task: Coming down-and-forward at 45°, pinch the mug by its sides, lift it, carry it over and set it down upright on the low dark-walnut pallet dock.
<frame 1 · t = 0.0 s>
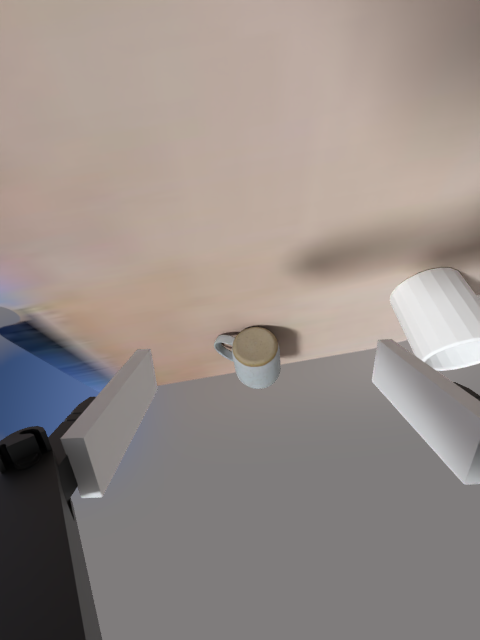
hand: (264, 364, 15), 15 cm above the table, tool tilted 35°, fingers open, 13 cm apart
mug: (439, 282, 32), on the table
ceramic mug: (247, 337, 43), on the table
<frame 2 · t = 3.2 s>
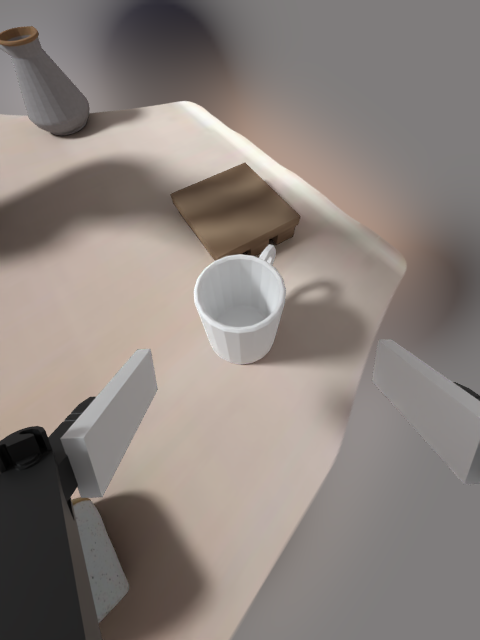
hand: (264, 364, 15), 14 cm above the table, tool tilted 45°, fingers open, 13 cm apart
coffee pot: (50, 121, 53), on the table
mug: (248, 320, 32), on the table
dock: (234, 223, 39), on the table
ceramic mug: (74, 572, 22), on the table
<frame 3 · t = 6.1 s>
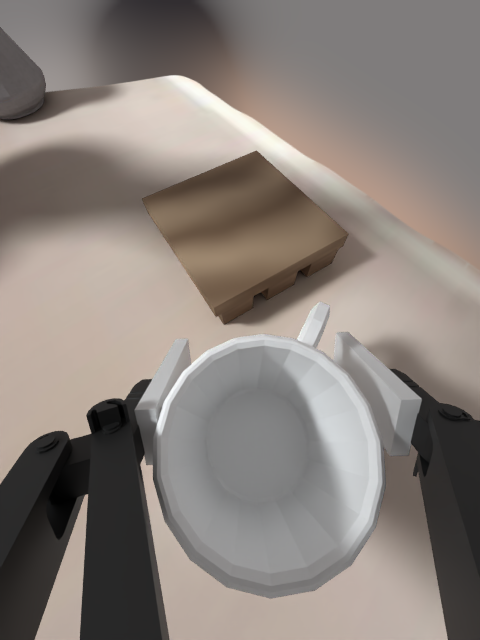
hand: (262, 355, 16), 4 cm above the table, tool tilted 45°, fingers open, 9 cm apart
mug: (268, 414, 18), on the table, touching gripper
dock: (240, 243, 25), on the table
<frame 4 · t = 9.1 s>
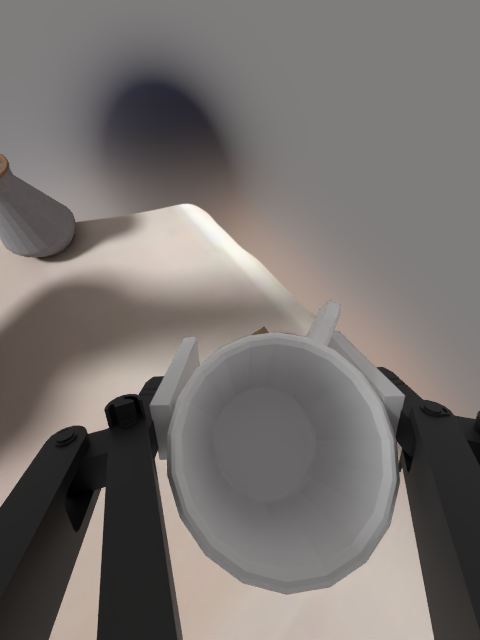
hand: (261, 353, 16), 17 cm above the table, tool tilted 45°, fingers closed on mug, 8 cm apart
coffee pot: (31, 233, 46), on the table
mug: (275, 413, 19), point 13 cm above the table, touching gripper
when the fingers open (9 cm above the table, at t = 11.7 s): mug drops 1 cm, resting on dock.
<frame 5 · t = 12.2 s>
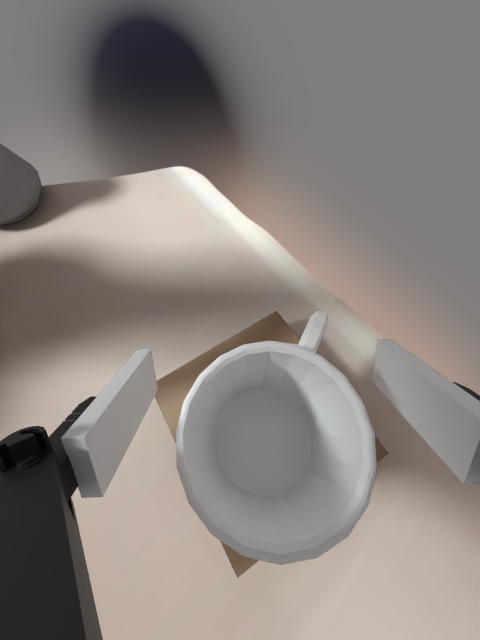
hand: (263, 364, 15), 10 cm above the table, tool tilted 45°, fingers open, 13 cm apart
mug: (272, 413, 20), point 3 cm above the table, touching dock
dock: (259, 420, 23), on the table
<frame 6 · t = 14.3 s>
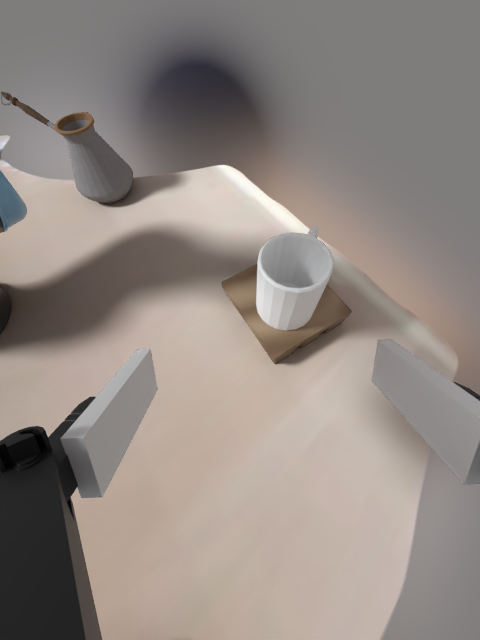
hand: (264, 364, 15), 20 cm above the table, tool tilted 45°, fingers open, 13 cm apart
coffee pot: (94, 186, 55), on the table
mug: (290, 295, 37), point 3 cm above the table, touching dock
dock: (281, 307, 39), on the table
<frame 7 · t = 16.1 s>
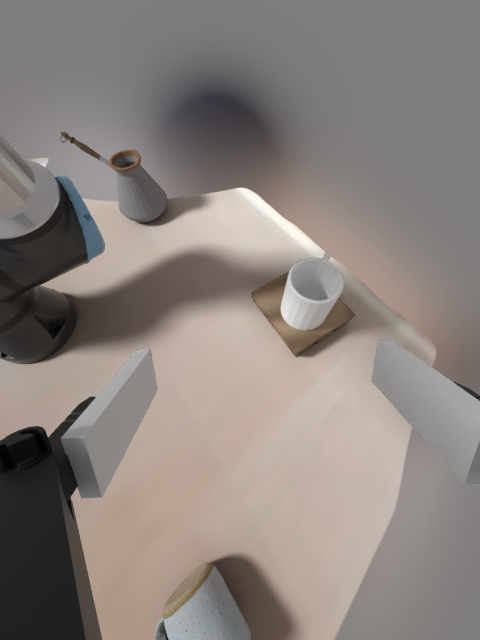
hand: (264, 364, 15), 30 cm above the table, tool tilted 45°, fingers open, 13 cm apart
coffee pot: (131, 206, 64), on the table
mug: (306, 302, 46), point 3 cm above the table, touching dock
dock: (298, 312, 49), on the table
ceramic mug: (201, 614, 32), on the table
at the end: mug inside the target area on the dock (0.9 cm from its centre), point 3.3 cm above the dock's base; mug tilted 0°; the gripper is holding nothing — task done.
